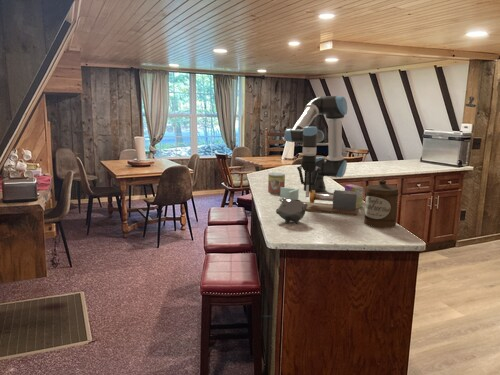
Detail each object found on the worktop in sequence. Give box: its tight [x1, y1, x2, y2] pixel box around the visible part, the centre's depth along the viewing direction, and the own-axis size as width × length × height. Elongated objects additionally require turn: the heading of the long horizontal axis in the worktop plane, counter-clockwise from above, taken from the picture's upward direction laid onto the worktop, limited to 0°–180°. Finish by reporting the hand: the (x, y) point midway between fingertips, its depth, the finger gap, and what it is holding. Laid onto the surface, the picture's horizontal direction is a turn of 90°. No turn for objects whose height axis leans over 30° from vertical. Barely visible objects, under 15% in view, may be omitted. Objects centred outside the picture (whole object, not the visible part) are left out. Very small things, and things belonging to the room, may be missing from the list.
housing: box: [332, 189, 357, 211], centre depth 212 cm, size 8×12×9 cm
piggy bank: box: [275, 198, 307, 225], centre depth 187 cm, size 11×15×12 cm
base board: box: [302, 201, 359, 216], centre depth 216 cm, size 16×36×2 cm, turn 73°
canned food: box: [267, 172, 286, 194], centre depth 263 cm, size 11×11×12 cm
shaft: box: [309, 190, 333, 203], centre depth 214 cm, size 7×21×7 cm, turn 73°
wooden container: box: [363, 178, 399, 229], centre depth 186 cm, size 15×15×22 cm
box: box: [344, 184, 364, 208], centre depth 225 cm, size 10×6×12 cm, turn 21°
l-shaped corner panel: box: [279, 187, 299, 202], centre depth 235 cm, size 12×12×8 cm
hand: (307, 196), depth 218 cm, fingers closed
